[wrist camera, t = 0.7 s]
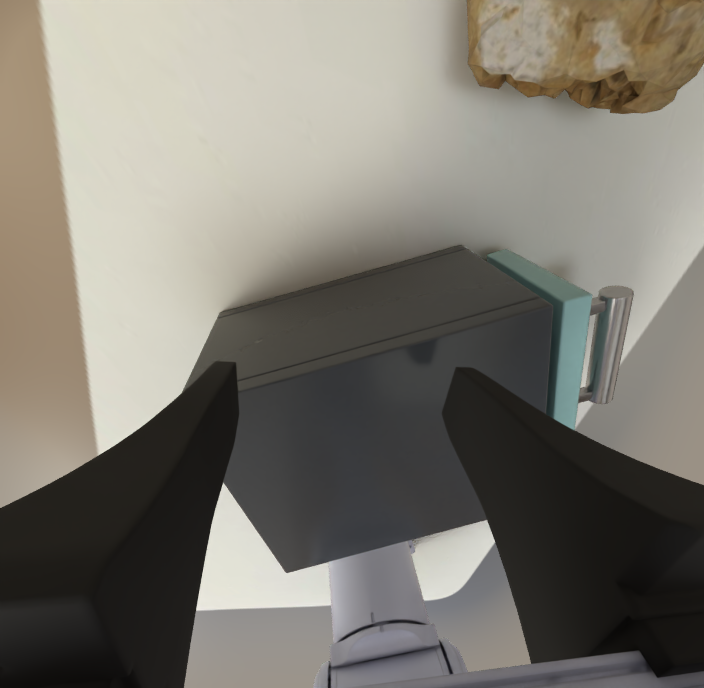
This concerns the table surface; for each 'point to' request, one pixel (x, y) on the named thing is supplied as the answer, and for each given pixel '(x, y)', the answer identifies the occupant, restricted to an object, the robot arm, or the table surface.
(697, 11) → the tan lumpy rounded piece
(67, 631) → the robot arm
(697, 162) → the table surface
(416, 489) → the compartment
